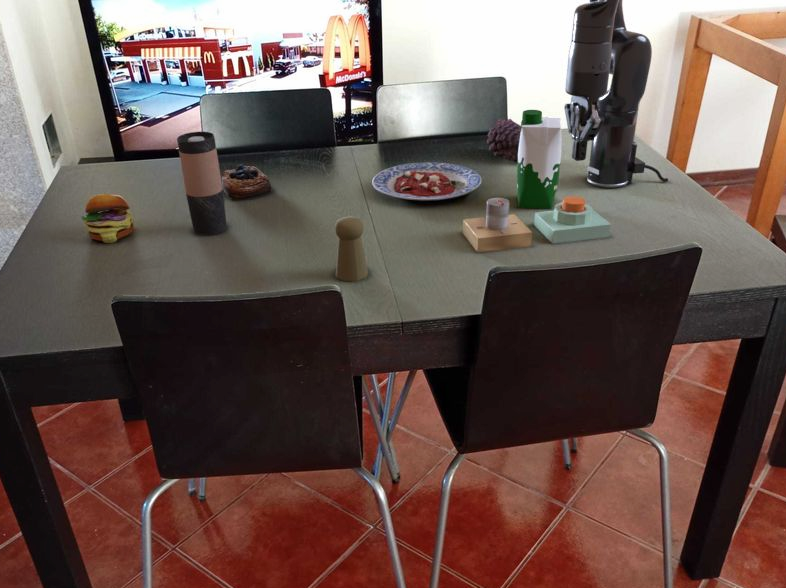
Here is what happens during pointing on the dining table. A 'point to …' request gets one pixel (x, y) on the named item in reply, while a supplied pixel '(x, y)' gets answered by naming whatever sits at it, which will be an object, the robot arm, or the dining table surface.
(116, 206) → the cheeseburger
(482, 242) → the panel
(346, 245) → the wooden pawn
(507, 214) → the dial
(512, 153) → the purple grape bunch
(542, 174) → the milk carton
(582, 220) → the button base
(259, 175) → the pastry
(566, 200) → the orange button cap
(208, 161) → the travel mug
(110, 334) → the dining table surface
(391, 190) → the ceramic plate
